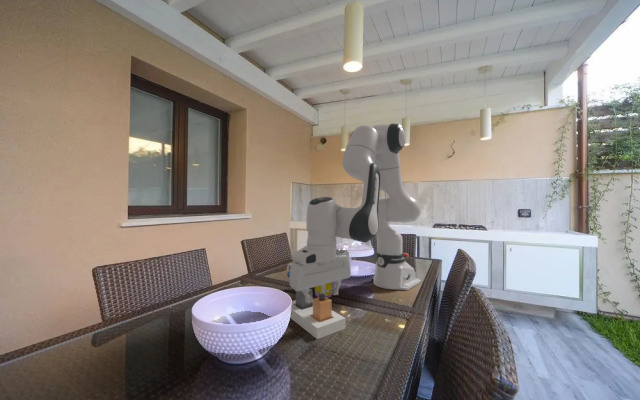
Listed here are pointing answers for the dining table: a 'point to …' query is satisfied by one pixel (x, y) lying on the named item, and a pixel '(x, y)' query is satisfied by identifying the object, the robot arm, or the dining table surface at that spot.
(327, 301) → the plug
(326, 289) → the supplement bottle
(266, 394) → the dining table surface
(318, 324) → the light grey socket block
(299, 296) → the twin plug
